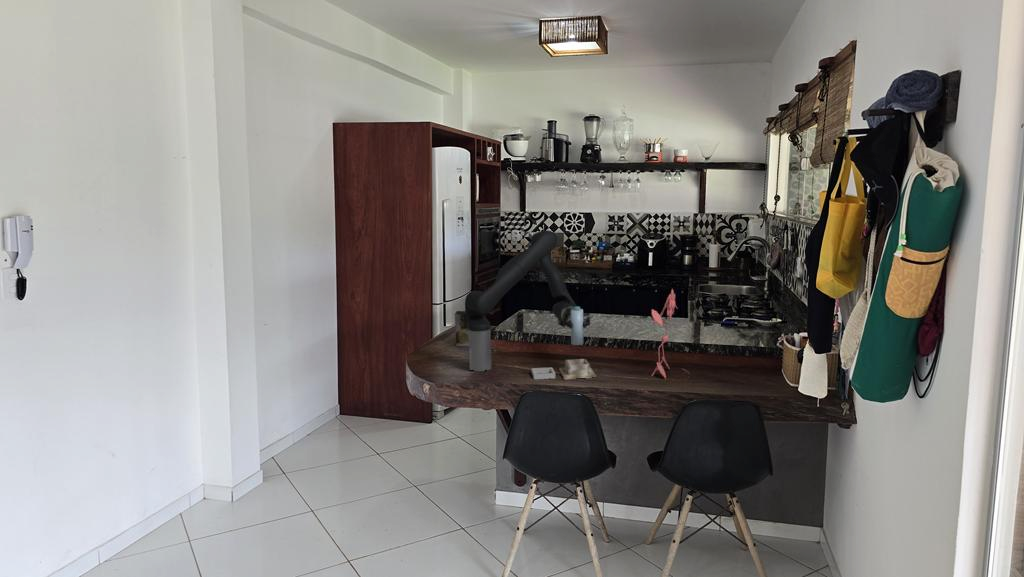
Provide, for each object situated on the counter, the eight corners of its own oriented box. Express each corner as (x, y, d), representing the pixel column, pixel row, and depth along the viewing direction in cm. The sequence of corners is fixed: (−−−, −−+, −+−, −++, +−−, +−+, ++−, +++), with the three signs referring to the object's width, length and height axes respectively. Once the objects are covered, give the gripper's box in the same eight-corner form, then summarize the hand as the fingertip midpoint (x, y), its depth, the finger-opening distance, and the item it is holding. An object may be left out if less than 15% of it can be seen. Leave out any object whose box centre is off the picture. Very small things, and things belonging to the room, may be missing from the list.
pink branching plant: (644, 381, 278) (648, 294, 272) (658, 364, 302) (661, 283, 295) (684, 386, 272) (688, 297, 266) (695, 369, 296) (699, 286, 289)
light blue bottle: (572, 345, 286) (571, 308, 283) (570, 342, 291) (569, 305, 288) (584, 344, 286) (584, 308, 284) (582, 341, 291) (581, 305, 289)
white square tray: (534, 379, 285) (534, 374, 285) (531, 373, 293) (531, 368, 293) (555, 378, 286) (555, 373, 285) (552, 372, 294) (552, 367, 294)
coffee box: (476, 343, 345) (475, 310, 342) (474, 346, 338) (473, 313, 336) (457, 343, 346) (456, 310, 343) (455, 346, 339) (454, 313, 336)
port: (564, 379, 284) (564, 367, 283) (559, 370, 297) (558, 358, 296) (596, 378, 285) (596, 365, 284) (589, 368, 298) (589, 357, 297)
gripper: (554, 308, 300) (560, 317, 283) (587, 307, 301) (595, 315, 284) (554, 326, 301) (560, 335, 285) (587, 324, 302) (595, 334, 286)
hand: (578, 325), depth 285 cm, fingers closed on light blue bottle, 5 cm apart
